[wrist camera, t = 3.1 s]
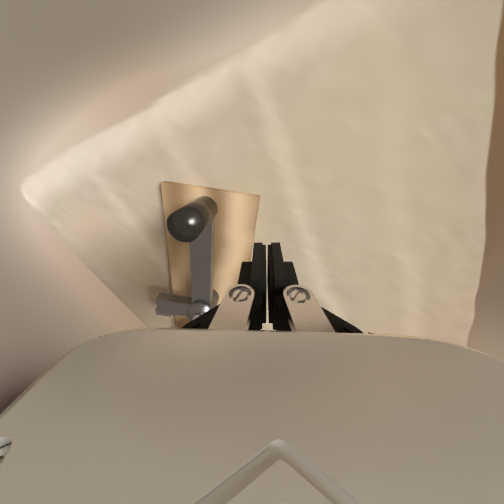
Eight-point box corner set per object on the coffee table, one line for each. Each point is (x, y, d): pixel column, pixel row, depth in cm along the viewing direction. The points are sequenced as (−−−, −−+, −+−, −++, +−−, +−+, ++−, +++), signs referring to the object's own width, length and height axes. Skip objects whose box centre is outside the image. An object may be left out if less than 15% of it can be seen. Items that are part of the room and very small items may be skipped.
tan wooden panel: (260, 195, 24) (258, 203, 19) (239, 338, 38) (235, 362, 33) (165, 181, 24) (141, 186, 19) (179, 329, 38) (167, 352, 33)
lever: (224, 196, 23) (204, 214, 15) (218, 308, 32) (204, 353, 25) (150, 185, 23) (94, 198, 15) (166, 300, 32) (135, 343, 25)
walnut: (202, 316, 34) (195, 332, 31) (202, 328, 36) (196, 345, 32) (183, 313, 34) (175, 329, 31) (184, 325, 36) (176, 342, 32)
